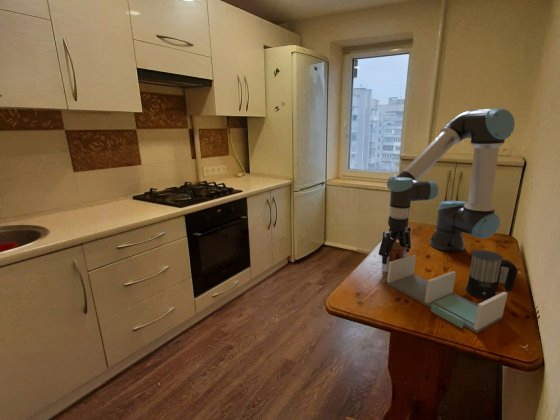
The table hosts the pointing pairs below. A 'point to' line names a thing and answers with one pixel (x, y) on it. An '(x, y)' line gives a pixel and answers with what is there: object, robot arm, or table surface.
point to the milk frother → (488, 274)
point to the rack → (444, 296)
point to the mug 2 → (503, 275)
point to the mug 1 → (397, 252)
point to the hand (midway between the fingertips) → (393, 267)
